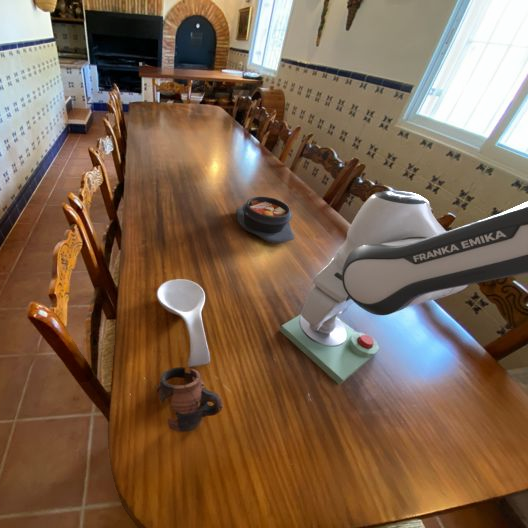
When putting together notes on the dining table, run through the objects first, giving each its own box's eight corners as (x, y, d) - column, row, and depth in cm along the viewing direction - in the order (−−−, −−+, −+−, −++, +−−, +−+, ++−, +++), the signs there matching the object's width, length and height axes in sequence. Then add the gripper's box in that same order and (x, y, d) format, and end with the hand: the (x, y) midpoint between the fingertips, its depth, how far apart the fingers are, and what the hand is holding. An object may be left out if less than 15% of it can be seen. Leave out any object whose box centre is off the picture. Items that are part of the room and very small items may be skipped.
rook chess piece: (324, 317, 69) (338, 292, 64) (337, 332, 66) (353, 307, 61) (308, 321, 68) (321, 296, 63) (321, 336, 64) (336, 312, 59)
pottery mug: (151, 431, 52) (147, 388, 50) (168, 398, 61) (165, 361, 59) (220, 442, 48) (218, 396, 47) (227, 406, 57) (226, 366, 56)
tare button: (372, 345, 65) (376, 341, 64) (366, 350, 64) (369, 346, 63) (361, 337, 66) (364, 332, 65) (355, 342, 65) (358, 337, 64)
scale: (376, 355, 67) (384, 345, 64) (340, 386, 60) (348, 377, 58) (315, 308, 77) (320, 298, 74) (279, 330, 70) (283, 321, 68)
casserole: (223, 213, 112) (227, 192, 107) (264, 207, 118) (270, 187, 113) (259, 251, 95) (266, 229, 89) (306, 242, 100) (315, 221, 95)
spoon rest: (152, 290, 78) (153, 270, 73) (195, 285, 80) (198, 265, 76) (172, 371, 60) (174, 351, 56) (226, 362, 63) (233, 341, 58)
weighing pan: (354, 334, 66) (355, 332, 66) (327, 354, 62) (328, 353, 61) (316, 305, 72) (317, 304, 72) (289, 322, 68) (290, 320, 68)
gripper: (369, 247, 63) (341, 293, 72) (308, 279, 54) (286, 327, 62) (399, 263, 59) (366, 310, 68) (340, 301, 50) (311, 349, 58)
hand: (327, 318), depth 65 cm, fingers open, 8 cm apart
